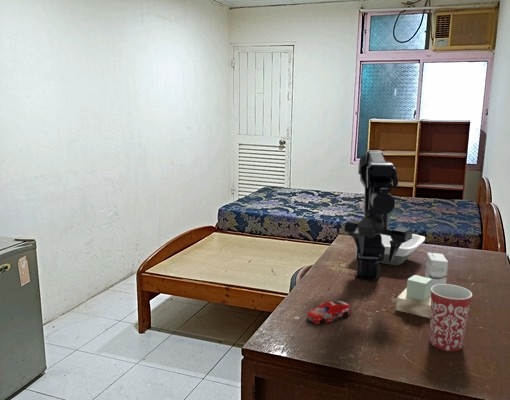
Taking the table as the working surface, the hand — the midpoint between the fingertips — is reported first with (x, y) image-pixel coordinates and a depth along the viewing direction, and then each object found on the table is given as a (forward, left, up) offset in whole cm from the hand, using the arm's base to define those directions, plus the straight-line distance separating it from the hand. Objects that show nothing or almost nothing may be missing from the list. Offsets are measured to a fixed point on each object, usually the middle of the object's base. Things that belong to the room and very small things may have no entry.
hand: (375, 258), depth 134 cm
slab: (+13, +1, -12) cm, 18 cm away
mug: (+25, -13, -12) cm, 31 cm away
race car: (-3, -20, -12) cm, 24 cm away
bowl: (-11, +37, -12) cm, 41 cm away
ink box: (+13, +15, -12) cm, 23 cm away
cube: (+13, +1, -8) cm, 16 cm away
